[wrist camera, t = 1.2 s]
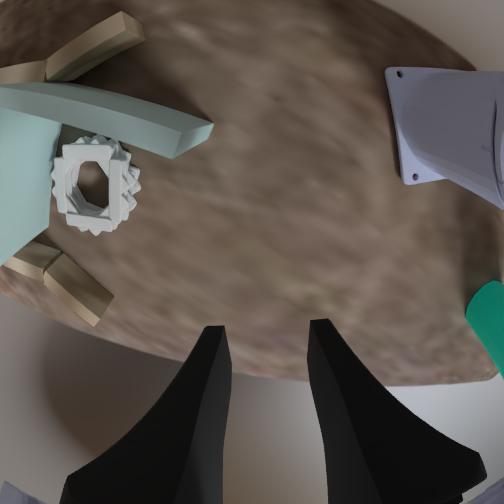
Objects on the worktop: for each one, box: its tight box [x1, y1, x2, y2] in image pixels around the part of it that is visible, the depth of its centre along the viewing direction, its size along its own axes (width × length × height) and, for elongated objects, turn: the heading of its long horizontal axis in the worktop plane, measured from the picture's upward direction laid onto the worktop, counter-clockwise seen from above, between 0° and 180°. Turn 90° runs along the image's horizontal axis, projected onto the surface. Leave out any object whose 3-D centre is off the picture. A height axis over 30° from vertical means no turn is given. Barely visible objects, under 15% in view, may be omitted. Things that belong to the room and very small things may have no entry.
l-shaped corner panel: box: [0, 82, 214, 266], centre depth 14 cm, size 12×12×8 cm
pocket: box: [0, 11, 146, 326], centre depth 15 cm, size 21×23×3 cm
